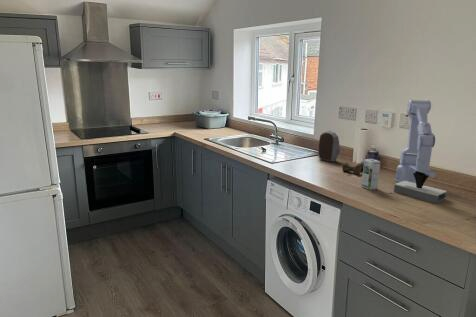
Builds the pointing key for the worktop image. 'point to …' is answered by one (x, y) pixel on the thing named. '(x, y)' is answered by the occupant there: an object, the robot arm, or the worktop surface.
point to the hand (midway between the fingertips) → (419, 187)
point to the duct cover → (424, 188)
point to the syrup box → (370, 174)
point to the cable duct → (419, 194)
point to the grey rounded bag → (328, 146)
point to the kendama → (353, 167)
